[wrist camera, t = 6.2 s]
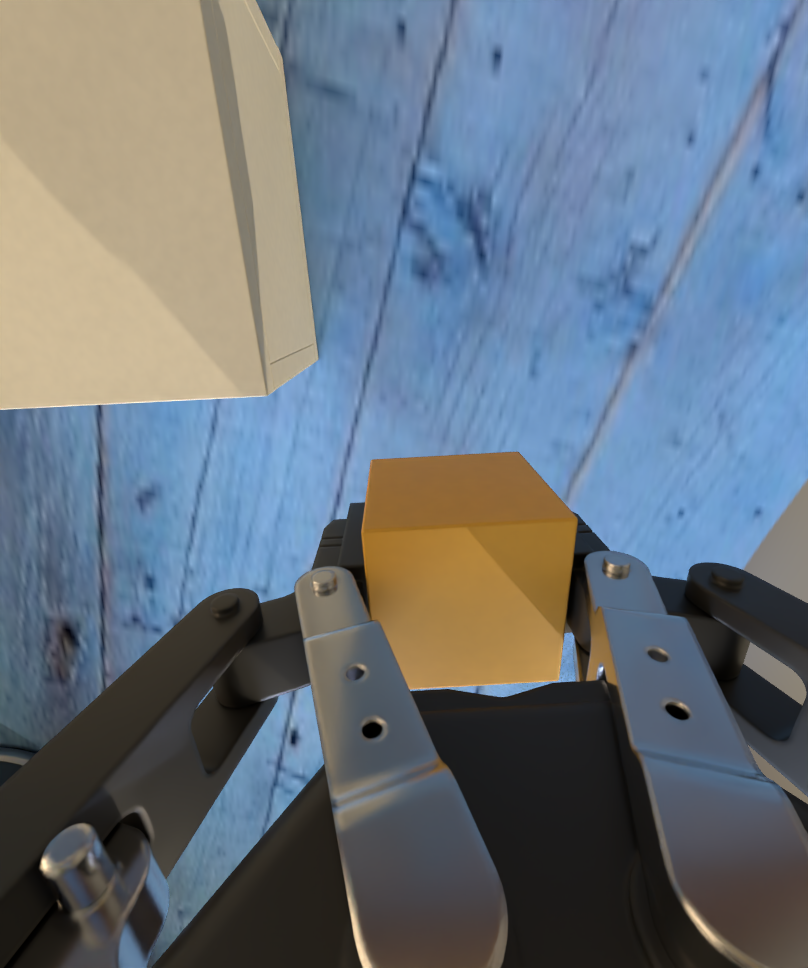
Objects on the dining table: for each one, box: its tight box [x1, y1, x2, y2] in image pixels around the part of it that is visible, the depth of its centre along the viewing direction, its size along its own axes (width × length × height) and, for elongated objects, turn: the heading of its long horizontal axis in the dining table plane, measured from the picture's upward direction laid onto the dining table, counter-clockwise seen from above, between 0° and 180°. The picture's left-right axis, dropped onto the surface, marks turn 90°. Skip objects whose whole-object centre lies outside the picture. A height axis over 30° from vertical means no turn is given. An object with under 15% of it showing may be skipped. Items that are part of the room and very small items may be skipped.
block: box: [361, 452, 578, 689], centre depth 11 cm, size 4×4×4 cm
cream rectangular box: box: [0, 0, 318, 410], centre depth 16 cm, size 16×12×10 cm
